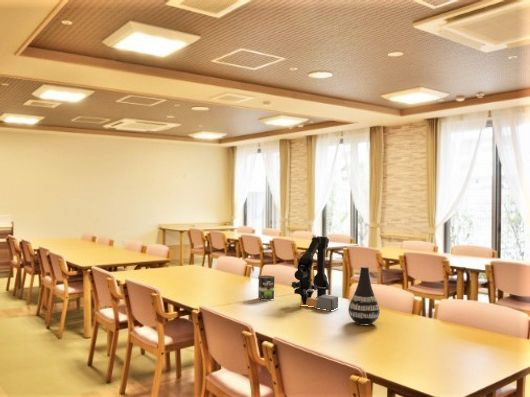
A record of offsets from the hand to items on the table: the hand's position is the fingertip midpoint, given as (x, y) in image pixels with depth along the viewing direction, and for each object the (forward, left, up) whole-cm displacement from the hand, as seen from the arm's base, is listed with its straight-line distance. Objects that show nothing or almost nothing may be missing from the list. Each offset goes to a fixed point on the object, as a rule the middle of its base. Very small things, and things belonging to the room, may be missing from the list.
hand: (305, 303), depth 289 cm
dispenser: (0, +14, -1) cm, 14 cm away
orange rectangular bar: (0, +7, -1) cm, 8 cm away
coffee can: (-2, -29, -2) cm, 29 cm away
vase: (+18, +43, -1) cm, 47 cm away
